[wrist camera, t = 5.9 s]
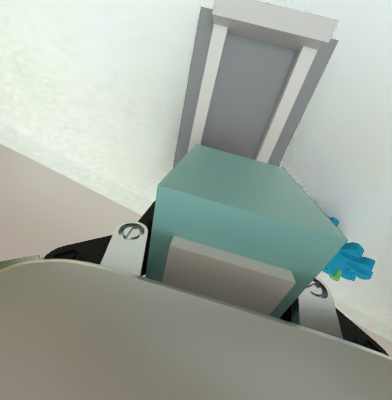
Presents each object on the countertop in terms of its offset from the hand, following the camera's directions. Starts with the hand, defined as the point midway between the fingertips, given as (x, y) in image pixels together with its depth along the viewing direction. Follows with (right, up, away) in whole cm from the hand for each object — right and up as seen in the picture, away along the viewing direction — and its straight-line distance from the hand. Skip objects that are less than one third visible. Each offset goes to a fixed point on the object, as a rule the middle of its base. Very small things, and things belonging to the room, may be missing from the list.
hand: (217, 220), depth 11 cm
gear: (+15, -3, +14) cm, 21 cm away
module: (0, 0, +1) cm, 1 cm away
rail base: (+3, +9, +10) cm, 14 cm away
